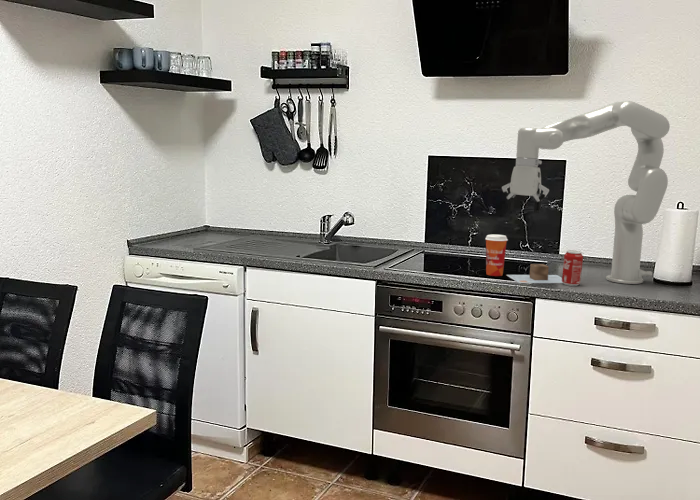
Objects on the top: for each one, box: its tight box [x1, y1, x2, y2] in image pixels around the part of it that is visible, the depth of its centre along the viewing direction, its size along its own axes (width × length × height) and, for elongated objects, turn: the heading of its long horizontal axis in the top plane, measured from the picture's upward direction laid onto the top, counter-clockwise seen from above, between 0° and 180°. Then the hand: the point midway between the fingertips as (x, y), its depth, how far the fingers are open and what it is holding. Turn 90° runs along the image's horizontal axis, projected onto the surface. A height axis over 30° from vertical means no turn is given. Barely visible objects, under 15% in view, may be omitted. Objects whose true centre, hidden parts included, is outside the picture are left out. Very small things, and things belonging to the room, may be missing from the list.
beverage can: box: [561, 249, 584, 287], centre depth 244 cm, size 6×6×12 cm
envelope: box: [505, 274, 564, 284], centre depth 254 cm, size 20×15×1 cm
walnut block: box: [529, 263, 550, 280], centre depth 254 cm, size 5×5×5 cm
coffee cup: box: [484, 233, 509, 277], centre depth 260 cm, size 8×8×15 cm
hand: (523, 211), depth 249 cm, fingers open, 9 cm apart
